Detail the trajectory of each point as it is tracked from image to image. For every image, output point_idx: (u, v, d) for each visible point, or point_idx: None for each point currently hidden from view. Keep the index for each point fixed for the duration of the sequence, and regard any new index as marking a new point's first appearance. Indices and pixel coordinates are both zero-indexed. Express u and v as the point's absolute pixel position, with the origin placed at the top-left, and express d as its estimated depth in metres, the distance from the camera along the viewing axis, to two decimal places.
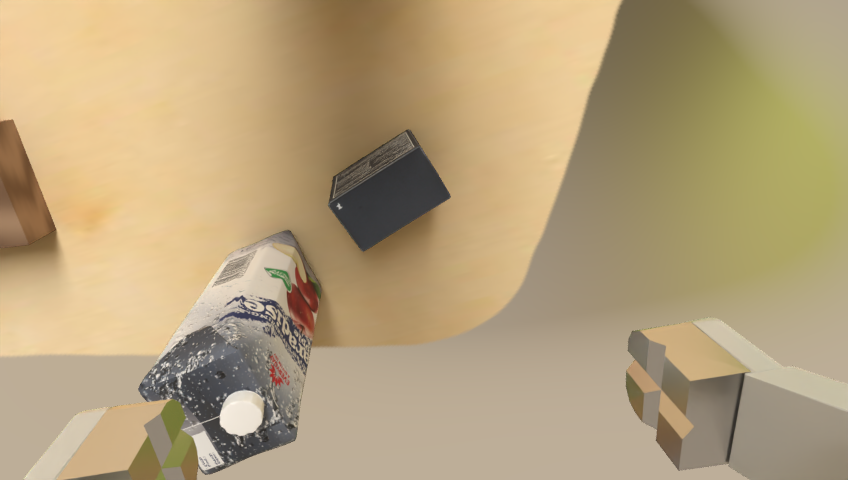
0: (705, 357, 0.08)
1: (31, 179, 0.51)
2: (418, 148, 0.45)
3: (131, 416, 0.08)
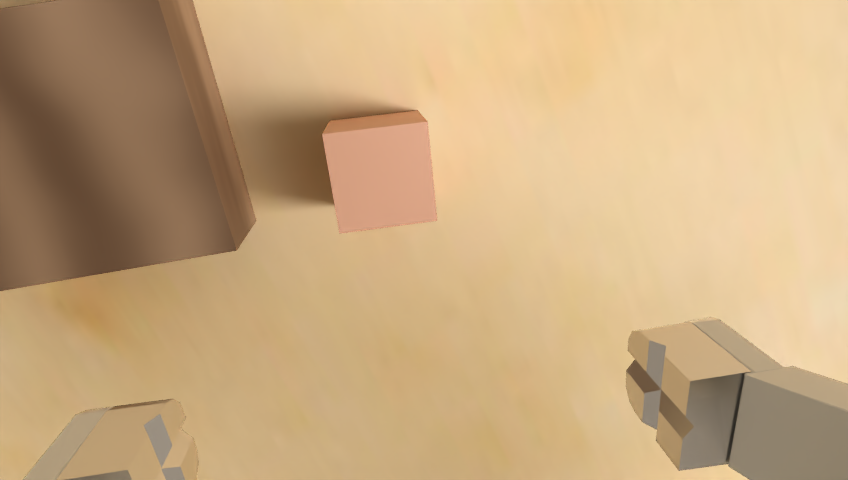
0: (704, 358, 0.08)
1: None
2: None
3: (131, 416, 0.08)
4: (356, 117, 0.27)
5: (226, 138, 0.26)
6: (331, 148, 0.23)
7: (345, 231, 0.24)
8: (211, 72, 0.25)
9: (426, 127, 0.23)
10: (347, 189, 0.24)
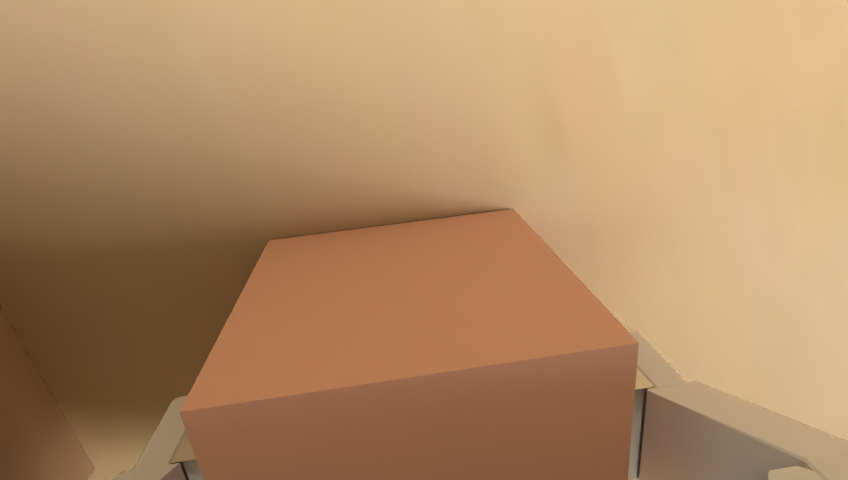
0: None
1: None
2: None
3: None
4: (344, 231, 0.10)
5: None
6: (225, 459, 0.05)
7: None
8: None
9: (630, 363, 0.05)
10: None
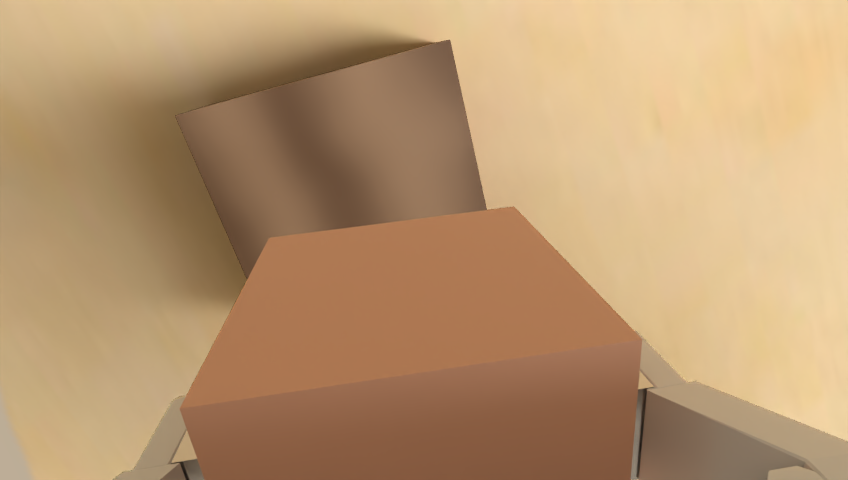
0: None
1: None
2: None
3: None
4: (345, 229, 0.10)
5: None
6: (225, 456, 0.05)
7: None
8: None
9: (633, 359, 0.05)
10: None
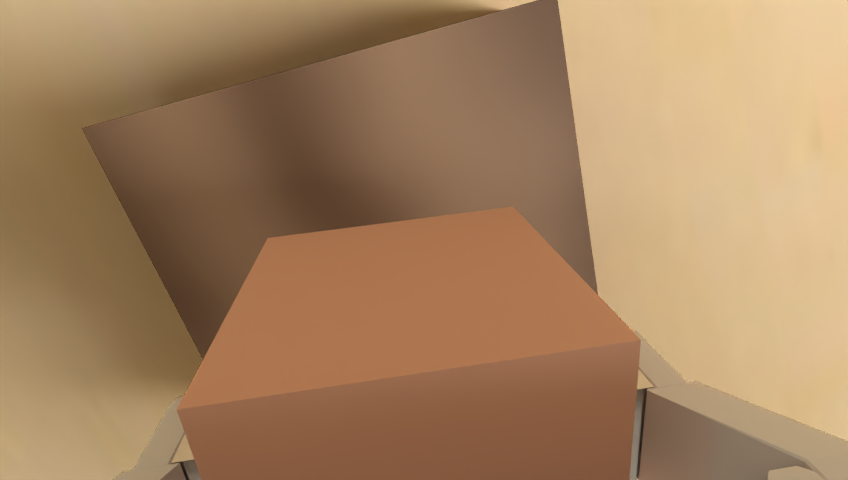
0: None
1: None
2: None
3: None
4: (343, 229, 0.10)
5: None
6: (224, 457, 0.05)
7: None
8: None
9: (632, 360, 0.05)
10: None
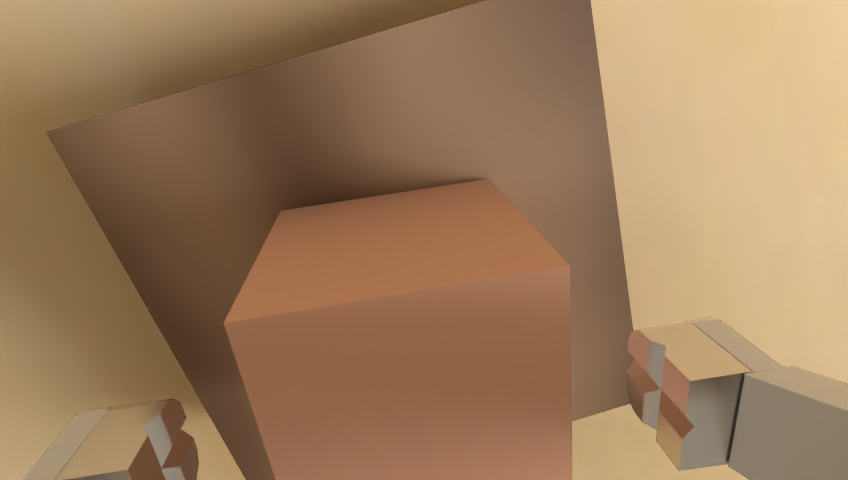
0: (704, 358, 0.08)
1: None
2: None
3: (131, 416, 0.08)
4: (344, 201, 0.11)
5: None
6: (258, 361, 0.07)
7: None
8: None
9: (564, 282, 0.07)
10: (318, 460, 0.08)
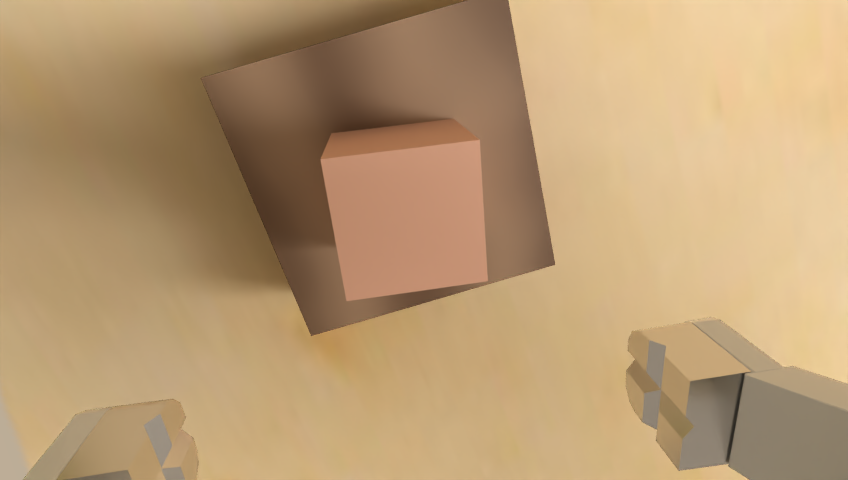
0: (704, 358, 0.08)
1: None
2: None
3: (131, 416, 0.08)
4: (368, 129, 0.20)
5: None
6: (334, 180, 0.15)
7: (355, 298, 0.17)
8: None
9: (477, 148, 0.15)
10: (358, 239, 0.16)
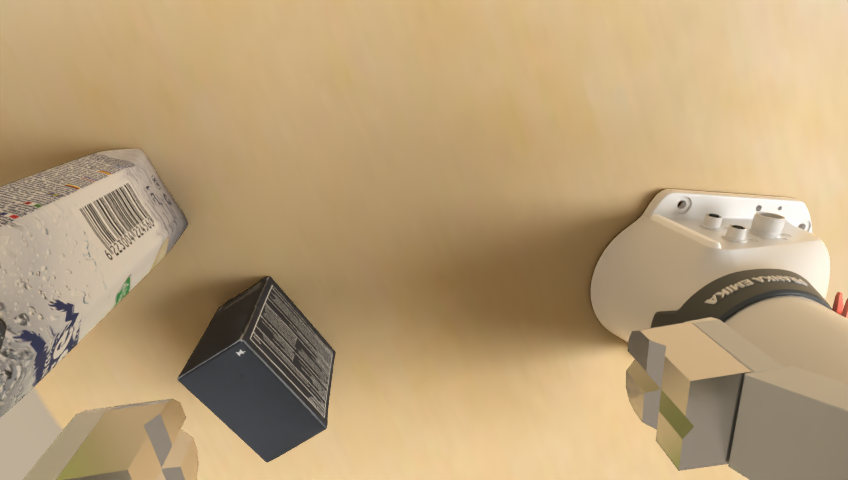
0: (704, 358, 0.08)
1: None
2: (324, 428, 0.38)
3: (131, 416, 0.08)
4: None
5: None
6: None
7: None
8: None
9: None
10: None
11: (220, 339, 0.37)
